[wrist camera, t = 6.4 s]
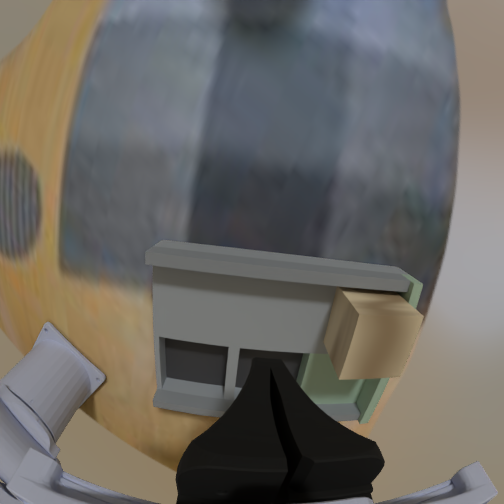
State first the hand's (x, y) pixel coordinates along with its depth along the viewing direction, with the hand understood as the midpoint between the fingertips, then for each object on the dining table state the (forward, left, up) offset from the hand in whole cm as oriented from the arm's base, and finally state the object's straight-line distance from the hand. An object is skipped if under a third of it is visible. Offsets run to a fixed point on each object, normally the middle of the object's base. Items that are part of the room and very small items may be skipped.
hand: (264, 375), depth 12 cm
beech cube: (+4, -6, -7) cm, 10 cm away
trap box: (-1, -3, -9) cm, 10 cm away
